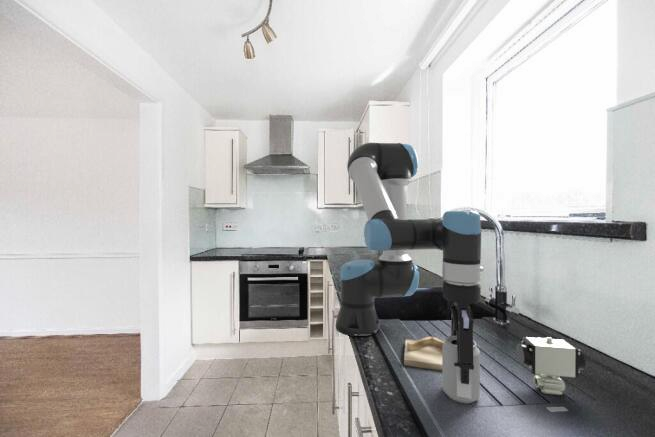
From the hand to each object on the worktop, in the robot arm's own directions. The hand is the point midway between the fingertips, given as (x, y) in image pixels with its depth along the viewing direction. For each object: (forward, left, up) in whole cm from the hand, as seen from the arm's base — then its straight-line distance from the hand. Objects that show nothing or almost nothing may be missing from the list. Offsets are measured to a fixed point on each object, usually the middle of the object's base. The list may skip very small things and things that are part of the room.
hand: (460, 385), depth 64 cm
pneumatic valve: (+8, +19, -2) cm, 21 cm away
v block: (-15, +8, -2) cm, 17 cm away
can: (0, 0, -2) cm, 2 cm away
